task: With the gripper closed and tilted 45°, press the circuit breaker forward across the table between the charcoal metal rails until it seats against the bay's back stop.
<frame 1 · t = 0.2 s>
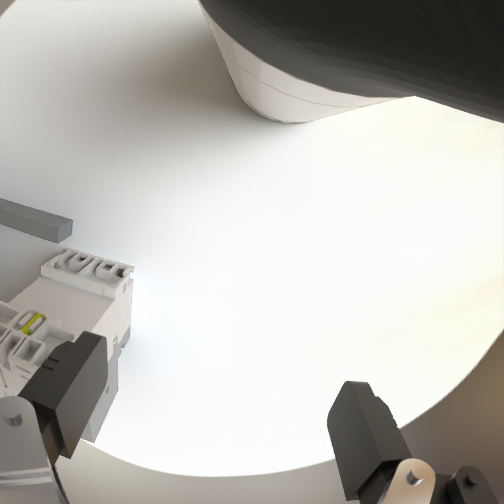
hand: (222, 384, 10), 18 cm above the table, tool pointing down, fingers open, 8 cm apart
circuit breaker: (98, 318, 30), on the table
breaker bay: (24, 290, 29), on the table
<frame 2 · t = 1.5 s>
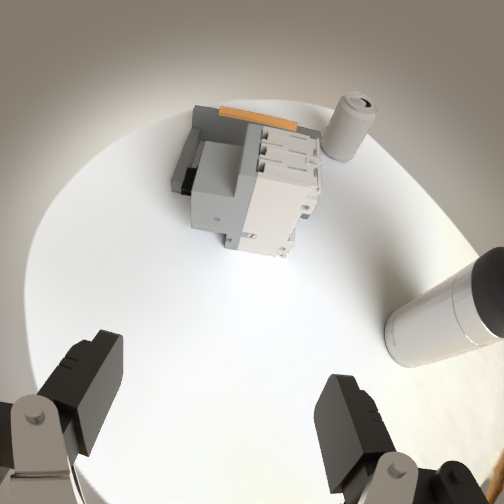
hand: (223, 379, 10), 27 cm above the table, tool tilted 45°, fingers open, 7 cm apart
beverage can: (335, 151, 54), on the table
circuit breaker: (235, 226, 44), on the table
breaker bay: (246, 171, 48), on the table
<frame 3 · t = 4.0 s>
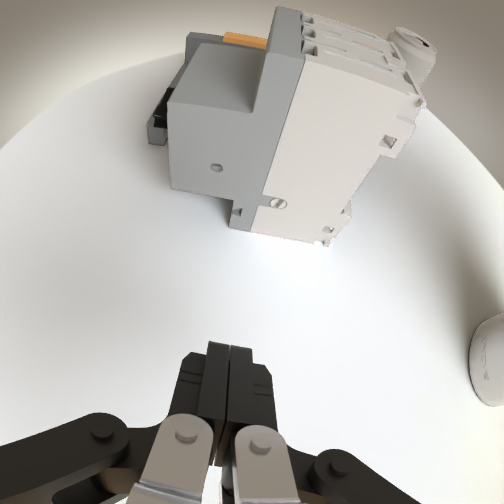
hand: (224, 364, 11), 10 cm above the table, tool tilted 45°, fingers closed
beverage can: (379, 108, 37), on the table
circuit breaker: (247, 194, 27), on the table
breaker bay: (262, 119, 31), on the table
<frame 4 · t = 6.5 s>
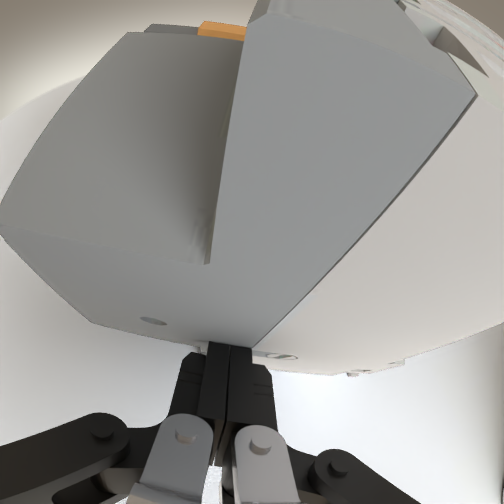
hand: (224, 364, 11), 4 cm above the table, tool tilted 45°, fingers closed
circuit breaker: (231, 293, 17), on the table, touching gripper
breaker bay: (258, 157, 21), on the table
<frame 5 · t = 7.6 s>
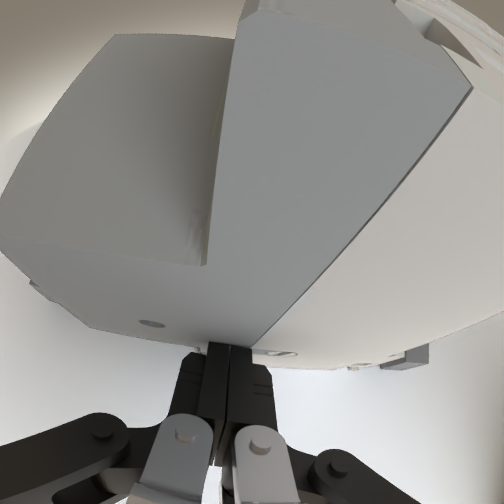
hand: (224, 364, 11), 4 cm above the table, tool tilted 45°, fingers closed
circuit breaker: (228, 291, 17), on the table, touching gripper
breaker bay: (249, 234, 18), on the table
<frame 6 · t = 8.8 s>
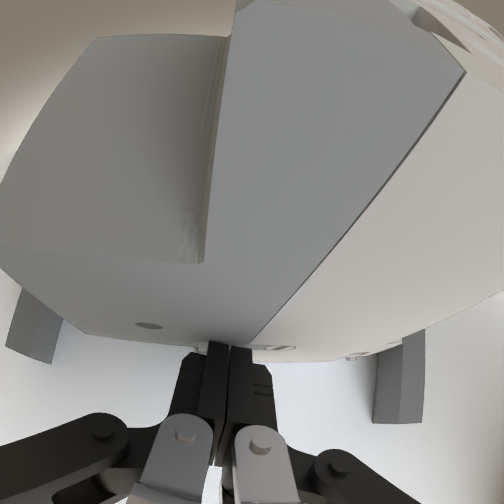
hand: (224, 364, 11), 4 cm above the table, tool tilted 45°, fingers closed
circuit breaker: (221, 289, 17), on the table, touching gripper
breaker bay: (234, 285, 17), on the table
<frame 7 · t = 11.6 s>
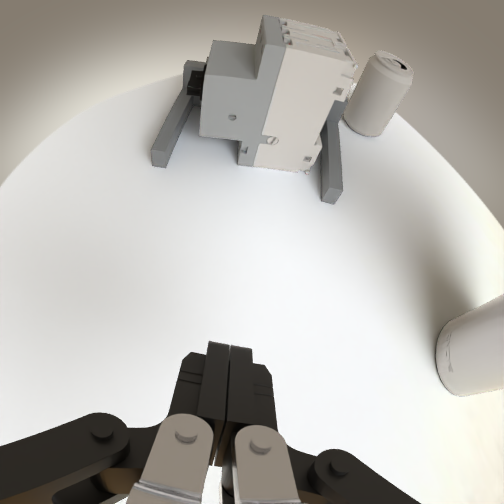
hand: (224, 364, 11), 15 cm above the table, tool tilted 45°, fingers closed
beverage can: (360, 125, 42), on the table
circuit breaker: (246, 144, 36), on the table
breaker bay: (252, 142, 36), on the table
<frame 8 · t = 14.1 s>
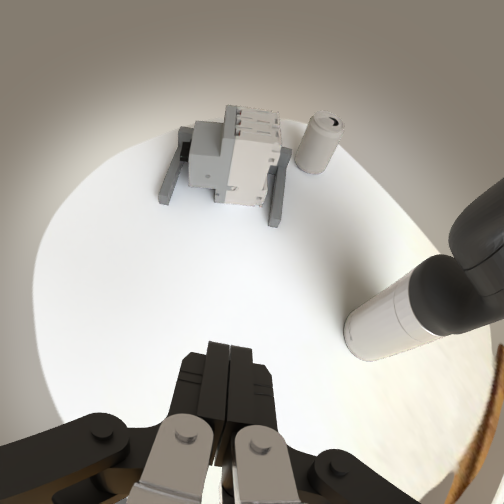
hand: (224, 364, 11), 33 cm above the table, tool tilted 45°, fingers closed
beverage can: (308, 164, 61), on the table
circuit breaker: (221, 186, 55), on the table
breaker bay: (225, 185, 55), on the table
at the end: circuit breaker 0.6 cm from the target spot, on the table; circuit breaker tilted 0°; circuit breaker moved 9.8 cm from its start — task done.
